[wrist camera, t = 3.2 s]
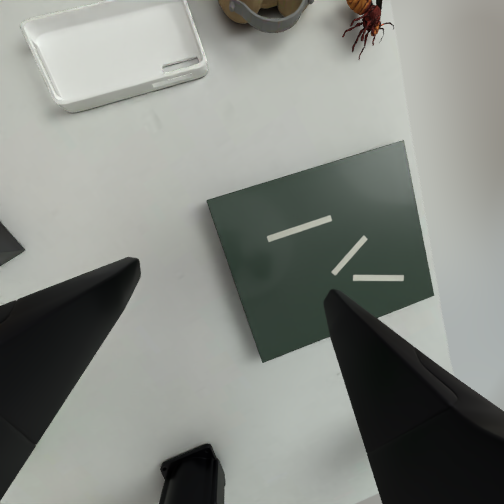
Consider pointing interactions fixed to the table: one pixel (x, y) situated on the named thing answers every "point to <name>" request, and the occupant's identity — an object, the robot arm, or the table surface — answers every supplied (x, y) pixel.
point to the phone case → (114, 50)
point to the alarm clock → (245, 11)
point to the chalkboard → (324, 245)
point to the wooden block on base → (8, 245)
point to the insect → (366, 18)
